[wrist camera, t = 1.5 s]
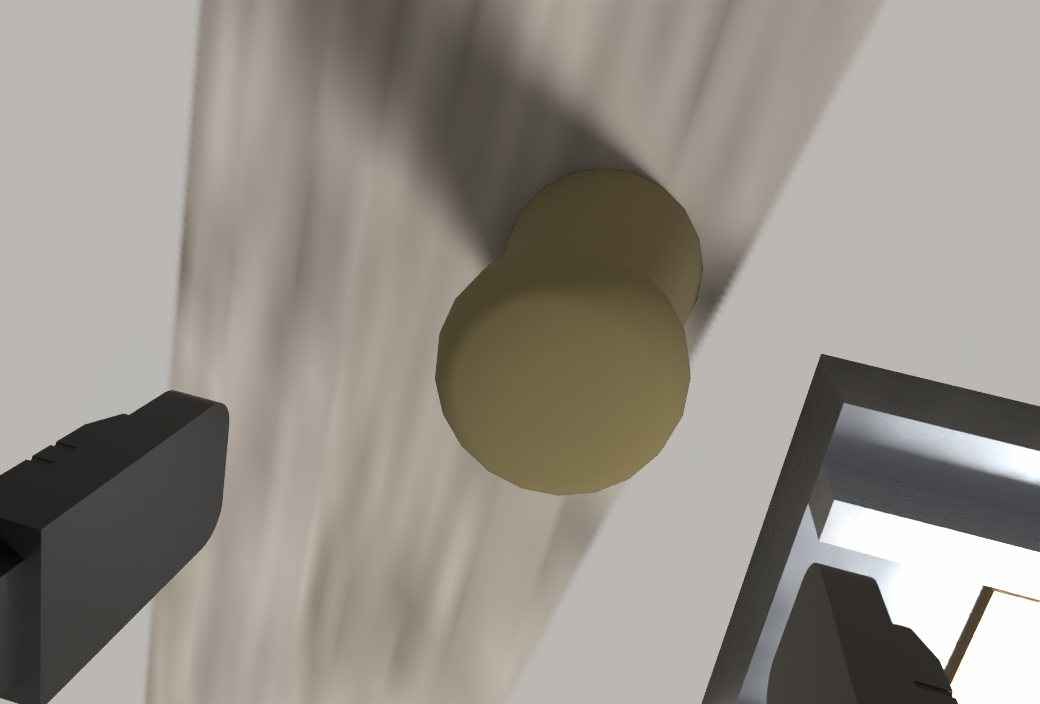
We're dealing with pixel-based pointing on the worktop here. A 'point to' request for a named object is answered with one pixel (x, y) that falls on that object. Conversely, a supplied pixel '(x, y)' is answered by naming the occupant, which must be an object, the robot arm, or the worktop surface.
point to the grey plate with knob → (904, 528)
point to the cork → (575, 336)
